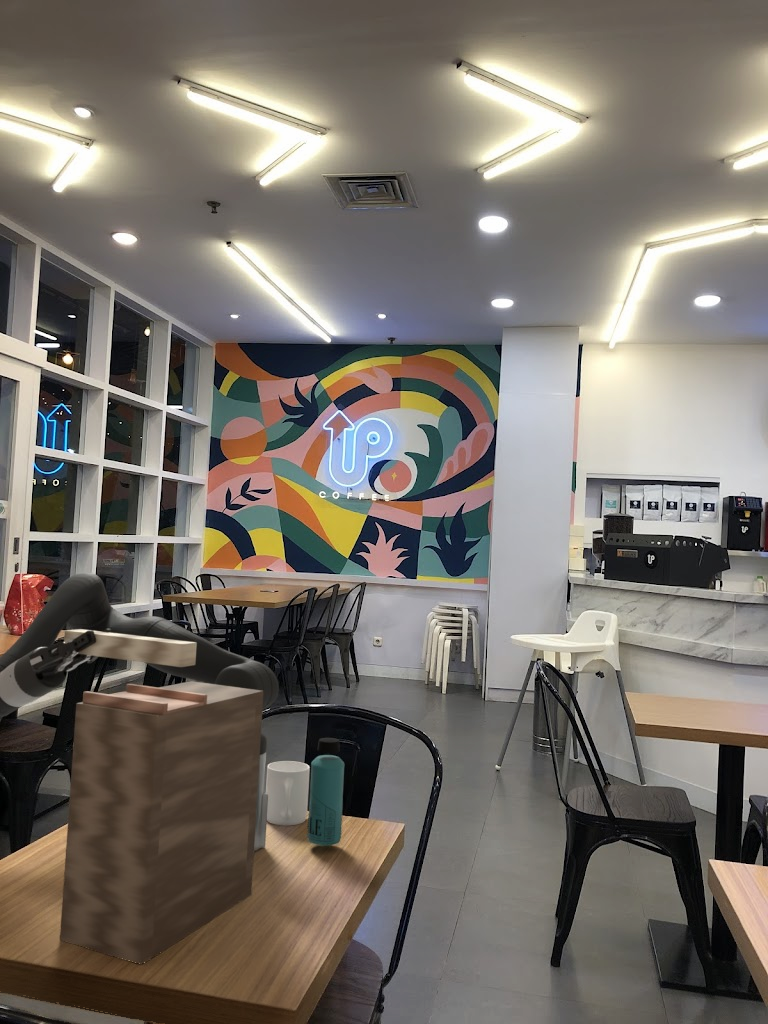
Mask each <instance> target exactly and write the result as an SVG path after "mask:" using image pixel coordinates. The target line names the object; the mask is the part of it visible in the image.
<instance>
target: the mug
mask: <svg viewBox="0 0 768 1024" xmlns="http://www.w3.org/2000/svg"><path fill="white" fill-rule="evenodd" d="M310 768H311V767H310V765H308V764H307V763H304V762H302V761H301V762H300V761H296V760H295V761H292V760H281V761H274V762H270V763H269V764H267V767H266V781H265V782H266V783H265V793H267V794H268V807H267V823H270V824H271V825H275V826H276V825H277V826H284V827H287V826H295V825H296V826H297V825H300V824H303V823H304V822H305V821H306V820H307V817H308V807H309V790H310V771H311V769H310Z"/></svg>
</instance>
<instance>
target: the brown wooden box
mask: <svg viewBox="0 0 768 1024" xmlns="http://www.w3.org/2000/svg"><path fill="white" fill-rule="evenodd" d="M125 689H126V690H125V691H119V692H115V693H114V692H113V693H109V694H107V693H103V692H96V691H95V692H94V691H88V690H87V691H83V694H82V701H81V702H76V704H75V718H74V733H73V743H72V745H73V747H72V762H71V774H70V789H69V790H70V791H69V804H68V817H67V818H68V819H67V830H66V831H67V832H66V834H67V835H66V844H65V845H66V847H65V859H64V875H63V886H62V887H63V889H62V903H61V918H60V929H59V931H60V933H59V941H62V942H66V943H69V944H71V945H75V944H76V945H75V946H78V945H79V947H81V946H82V947H81V948H84V947H87V948H89V950H91V949H92V950H91V951H94V950H96V951H95V952H97V951H99V952H98V953H100V952H101V953H100V954H103V953H104V955H107V954H109V955H108V956H110V955H111V957H113V956H116V957H119V958H123V959H126V960H130V961H133V962H136V963H140V964H142V963H144V962H146V961H147V960H149V959H150V960H152V959H153V958H152V957H154V956H155V957H157V956H158V955H159V953H160V952H161V953H163V952H164V951H166V950H168V949H169V948H170V946H171V947H172V946H174V945H175V944H177V943H178V942H180V941H181V940H184V939H185V938H187V937H188V936H189V935H191V934H193V933H194V932H196V931H197V930H199V929H200V928H202V927H203V926H205V925H206V924H208V923H210V922H212V921H213V920H215V919H216V918H218V917H219V916H221V915H222V914H224V913H226V912H227V911H229V910H230V909H232V908H233V907H236V906H237V905H238V904H239V903H241V902H243V901H245V900H246V899H248V898H249V897H251V896H252V894H253V892H252V891H253V890H252V889H253V875H254V858H255V857H254V856H255V851H254V843H255V826H256V809H257V792H258V775H259V758H260V741H261V733H262V721H263V710H262V707H263V691H261V690H254V689H246V688H239V687H231V686H224V685H216V684H209V683H205V682H202V681H195V680H191V681H186V682H180V683H176V684H171V685H164V686H160V687H156V686H149V685H142V684H135V683H127V684H126V688H125ZM87 948H86V949H87ZM167 948H168V949H167ZM165 949H166V950H165ZM162 951H163V952H162ZM161 953H160V954H161ZM157 954H158V955H157ZM156 955H157V956H156ZM116 957H115V958H116ZM155 957H154V958H155ZM119 958H118V959H119ZM151 958H152V959H151ZM123 959H122V960H123ZM126 960H125V961H126ZM150 960H149V961H150ZM147 962H148V961H147ZM147 962H146V963H147ZM144 964H145V963H144Z"/></svg>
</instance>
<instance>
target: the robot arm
mask: <svg viewBox="0 0 768 1024" xmlns="http://www.w3.org/2000/svg"><path fill="white" fill-rule="evenodd" d="M66 624H67V626H68V627H69V628H71V630H76V629H84V630H90V631H87V632H85V633H83V634H82V635H80V636H78V637H77V638H75V639H69V640H68V641H67V642H65V643H64V640H63V641H58V642H56V641H57V638H58V636H59V634H60V633H61V631H62V630H63V628H64V627H65V625H66ZM94 631H101V632H110V633H118V634H127V635H136V636H144V637H153V638H162V639H170V640H179V641H187V642H196V643H197V646H196V661H195V665H192V666H186V667H176V666H169V665H161V664H153V663H146V662H143V663H144V664H146V665H148V666H150V667H152V668H154V669H156V670H158V671H161V672H162V673H165V674H168V675H171V676H175V677H180V678H182V679H183V678H184V679H188V680H189V679H190V680H192V681H196V682H201V683H209V684H216V685H224V686H231V687H239V688H246V689H254V690H261V691H263V707H262V711H263V710H264V709H266V708H268V707H270V706H271V705H272V704H273V703H274V702H276V700H277V698H278V695H279V692H280V689H279V687H280V686H279V682H278V678H277V676H276V674H275V673H274V672H273V670H271V668H270V667H269V666H267V665H266V664H265V663H262V662H260V661H257V660H254V659H251V658H248V657H246V656H243V655H240V654H236V653H234V652H231V651H229V650H227V649H224V648H222V647H220V646H218V645H217V644H215V643H212V642H211V641H209V640H207V639H205V638H203V637H201V636H199V635H197V634H195V633H194V632H192V631H189V630H188V629H186V628H184V627H182V626H181V625H179V624H176V623H174V622H172V621H170V620H168V619H166V618H164V617H160V616H152V615H151V616H142V617H138V618H133V617H130V616H127V615H125V614H123V613H122V612H120V611H118V610H116V609H115V608H114V607H113V606H112V605H111V604H110V600H109V598H108V594H107V589H106V587H105V584H104V582H103V579H101V577H100V576H98V575H97V573H96V574H95V573H91V572H80V573H76V574H74V575H72V576H70V577H68V578H67V579H65V580H64V581H63V582H62V583H61V584H60V585H59V587H58V588H57V589H55V592H54V593H53V594H52V596H50V598H49V599H48V601H47V603H46V604H45V605H44V606H43V607H42V608H41V610H40V612H39V613H38V614H37V615H36V617H35V618H34V619H33V621H31V623H30V624H29V626H28V627H27V628H26V629H25V631H24V632H23V633H22V634H21V635H20V636H19V638H18V639H17V640H16V641H15V642H14V643H13V644H12V645H11V646H10V647H9V648H8V649H7V650H6V651H5V652H4V653H3V654H2V655H1V656H0V722H1V721H2V719H3V717H7V716H8V715H10V714H11V713H13V712H15V711H17V710H18V709H20V708H21V707H23V706H26V705H28V704H31V703H33V702H35V701H36V700H38V699H40V698H42V697H43V696H45V695H47V694H49V693H50V692H52V691H53V690H56V689H58V688H59V687H61V686H62V685H64V682H65V681H66V679H67V675H68V672H71V671H73V670H75V669H76V668H77V667H78V666H79V665H81V664H83V663H86V662H87V663H86V664H92V663H93V662H95V660H97V659H98V658H99V657H100V656H92V655H85V654H78V653H79V651H82V650H84V649H86V648H87V647H89V646H91V645H92V644H94V643H95V642H96V638H95V635H94ZM55 642H56V643H55ZM267 745H268V739H267V736H266V735H265V734H263V733H262V732H261V741H260V758H259V775H258V792H257V809H256V826H255V843H254V852H257V851H258V850H260V849H261V848H265V847H266V838H267V825H268V824H267V823H268V821H267V807H268V794H267V793H266V791H265V782H266V781H265V779H266V761H267V748H268V747H267Z"/></svg>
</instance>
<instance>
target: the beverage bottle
mask: <svg viewBox="0 0 768 1024" xmlns="http://www.w3.org/2000/svg"><path fill="white" fill-rule="evenodd" d="M317 751H318V752H319V753H324V754H323V755H318V756H316V757H315V758H314V759H313V760H312V761H311V764H310V766H311V767H310V768H311V769H310V771H311V772H310V781H309V789H308V794H309V802H308V816H307V817H308V818H307V833H306V836H307V839H308V841H309V843H310V844H314V845H317V846H332V845H333V846H334V845H337V844H339V843H340V842H341V839H342V835H343V831H342V827H343V816H344V815H343V813H344V812H343V805H344V802H343V801H344V799H343V795H344V775H345V762H344V761H343V759H341V757H339V756H336V755H332V754H334V753H335V754H336V753H339V752H340V751H341V749H340V740H339V739H337V738H336V737H335V738H334V737H322V738H319V739H318V743H317ZM326 753H327V754H326Z"/></svg>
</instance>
